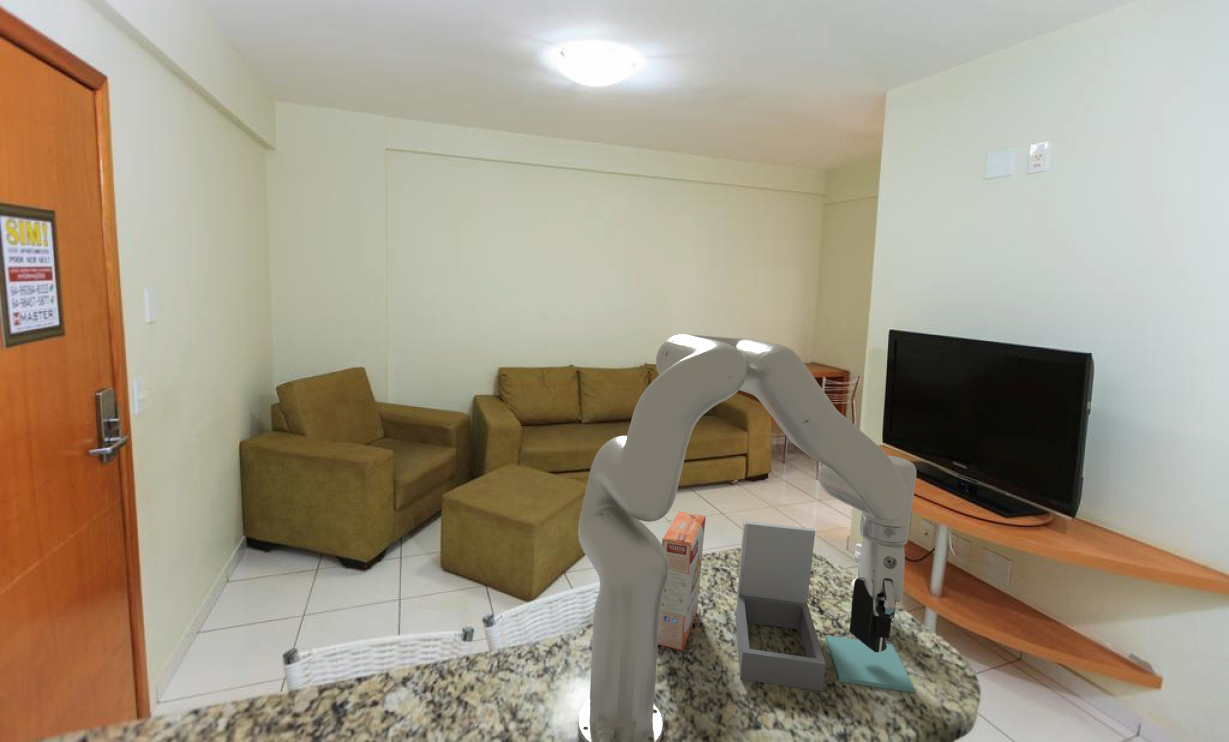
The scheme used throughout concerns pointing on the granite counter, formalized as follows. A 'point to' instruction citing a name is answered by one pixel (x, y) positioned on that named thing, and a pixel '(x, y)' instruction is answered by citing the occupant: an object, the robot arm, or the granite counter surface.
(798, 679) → the case
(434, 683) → the granite counter surface
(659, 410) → the robot arm
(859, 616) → the battery charger
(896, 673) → the mat
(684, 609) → the cracker box
